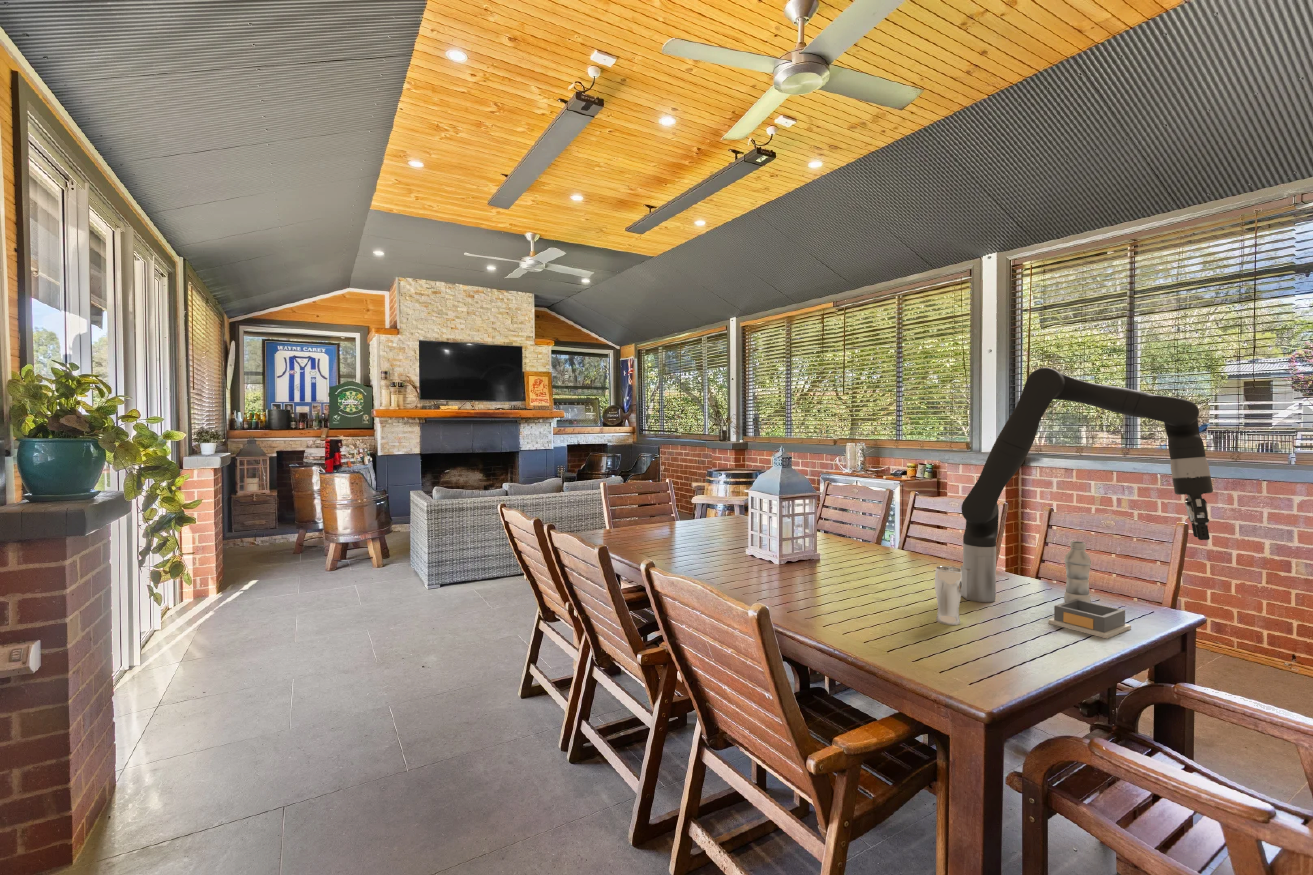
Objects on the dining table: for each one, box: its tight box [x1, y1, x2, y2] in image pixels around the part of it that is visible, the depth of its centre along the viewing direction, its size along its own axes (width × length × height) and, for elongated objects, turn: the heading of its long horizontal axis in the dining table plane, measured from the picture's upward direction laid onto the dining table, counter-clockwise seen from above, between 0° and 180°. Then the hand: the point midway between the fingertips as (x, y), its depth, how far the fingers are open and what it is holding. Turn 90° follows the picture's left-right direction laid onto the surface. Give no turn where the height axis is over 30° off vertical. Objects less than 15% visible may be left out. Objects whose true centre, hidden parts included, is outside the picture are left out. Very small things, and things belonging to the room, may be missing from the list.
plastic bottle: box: [1063, 540, 1092, 603], centre depth 179 cm, size 6×7×20 cm
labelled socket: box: [1048, 599, 1132, 639], centre depth 164 cm, size 14×14×5 cm
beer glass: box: [934, 565, 963, 626], centre depth 167 cm, size 7×7×15 cm
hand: (1201, 538), depth 154 cm, fingers open, 8 cm apart
